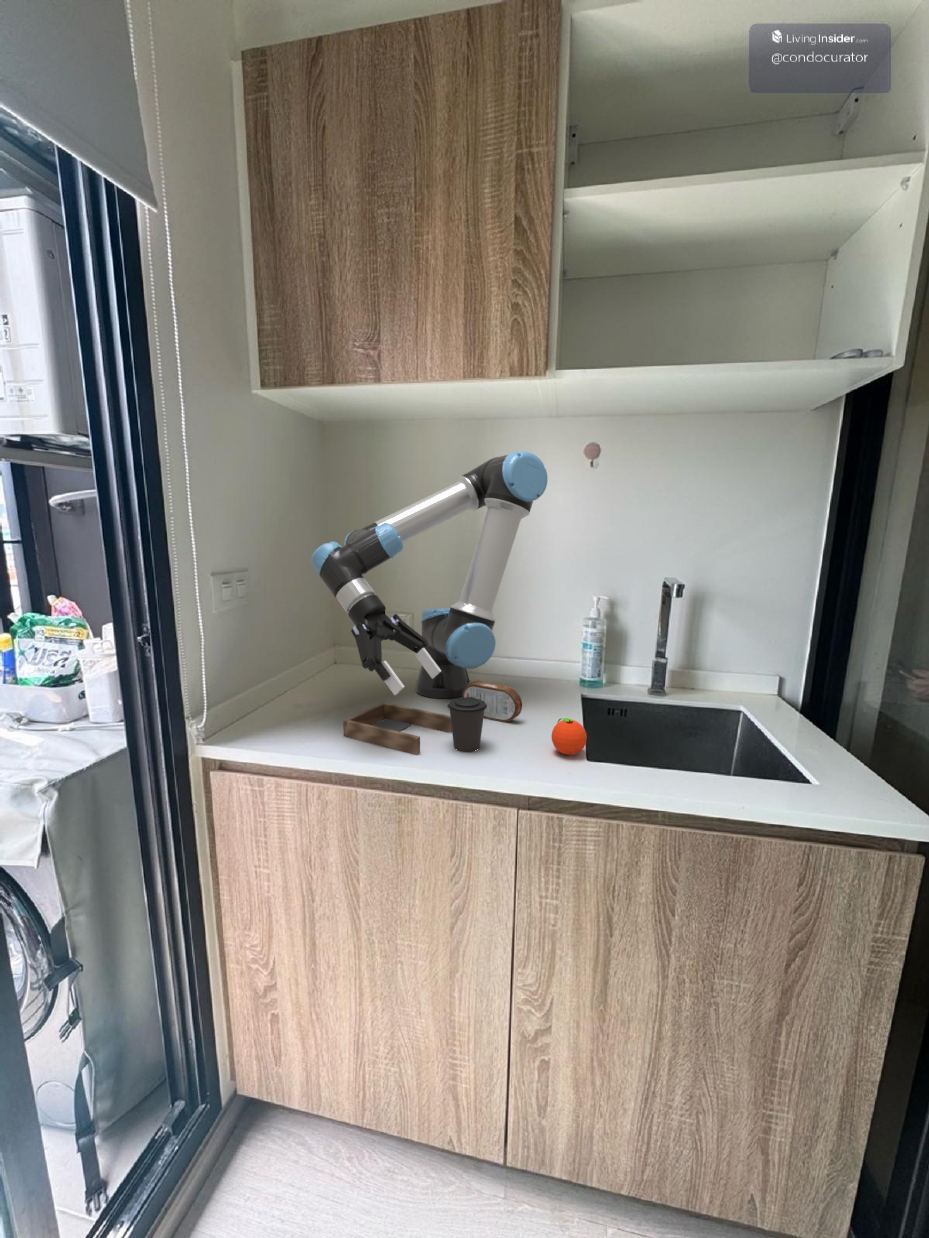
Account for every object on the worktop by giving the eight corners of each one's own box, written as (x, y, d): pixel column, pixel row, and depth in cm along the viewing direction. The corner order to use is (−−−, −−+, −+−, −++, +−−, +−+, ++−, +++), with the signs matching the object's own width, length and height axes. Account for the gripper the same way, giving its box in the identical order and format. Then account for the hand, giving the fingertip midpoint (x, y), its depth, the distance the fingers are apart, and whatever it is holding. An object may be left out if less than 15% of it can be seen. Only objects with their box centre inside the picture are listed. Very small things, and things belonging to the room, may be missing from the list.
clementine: (541, 747, 108) (542, 714, 107) (570, 742, 111) (571, 710, 110) (562, 763, 101) (564, 728, 100) (593, 757, 103) (594, 723, 102)
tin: (522, 722, 122) (523, 687, 121) (516, 726, 120) (517, 690, 118) (466, 710, 130) (466, 677, 128) (460, 714, 127) (460, 680, 126)
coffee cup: (483, 738, 112) (484, 693, 111) (488, 754, 104) (489, 706, 103) (446, 739, 112) (446, 694, 110) (448, 755, 104) (448, 707, 102)
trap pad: (355, 735, 113) (355, 734, 113) (386, 719, 123) (386, 718, 123) (381, 742, 110) (381, 740, 110) (411, 725, 119) (411, 724, 119)
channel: (343, 736, 113) (343, 720, 112) (383, 716, 125) (383, 702, 124) (417, 754, 104) (417, 738, 103) (452, 731, 116) (452, 716, 115)
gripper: (387, 608, 126) (440, 678, 121) (310, 623, 104) (370, 709, 100) (405, 587, 122) (460, 659, 118) (329, 599, 101) (392, 687, 96)
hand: (419, 682), depth 109 cm, fingers open, 13 cm apart
